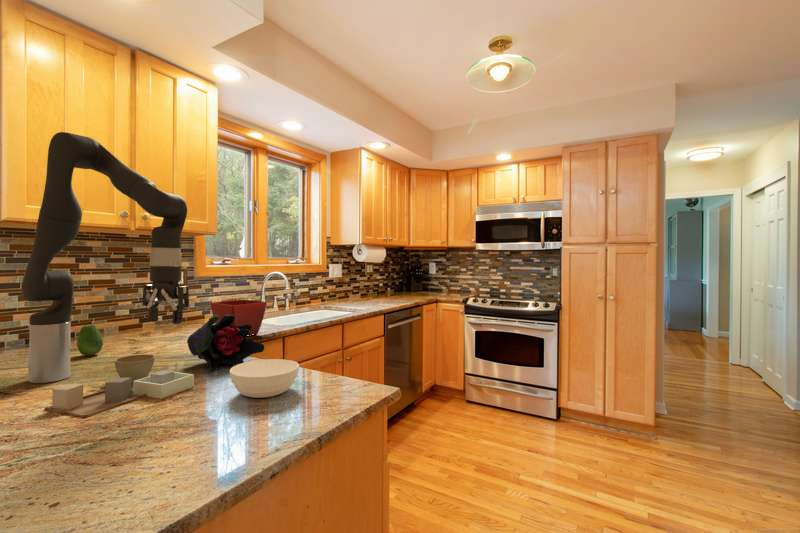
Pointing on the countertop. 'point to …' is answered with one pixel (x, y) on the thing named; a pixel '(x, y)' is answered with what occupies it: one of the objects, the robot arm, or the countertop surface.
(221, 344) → the decorative plant
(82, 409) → the walnut tray
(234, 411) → the countertop surface
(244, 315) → the plant pot
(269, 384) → the bowl
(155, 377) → the stone slate
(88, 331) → the avocado
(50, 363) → the robot arm
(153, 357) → the flower pot
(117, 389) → the stone basalt
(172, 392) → the green bin
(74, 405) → the stone sand
